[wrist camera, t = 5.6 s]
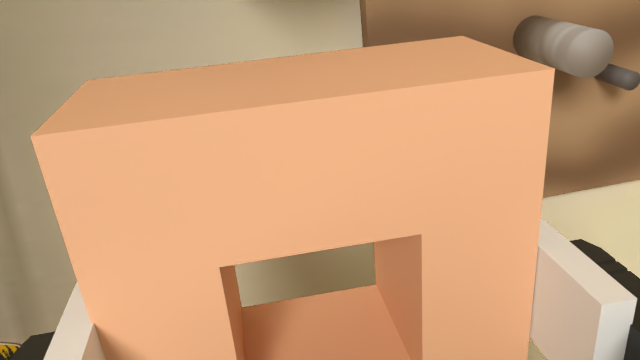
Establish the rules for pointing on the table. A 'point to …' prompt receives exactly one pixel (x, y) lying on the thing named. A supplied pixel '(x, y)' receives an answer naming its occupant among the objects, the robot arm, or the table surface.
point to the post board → (554, 51)
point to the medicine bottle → (7, 350)
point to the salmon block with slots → (308, 201)
